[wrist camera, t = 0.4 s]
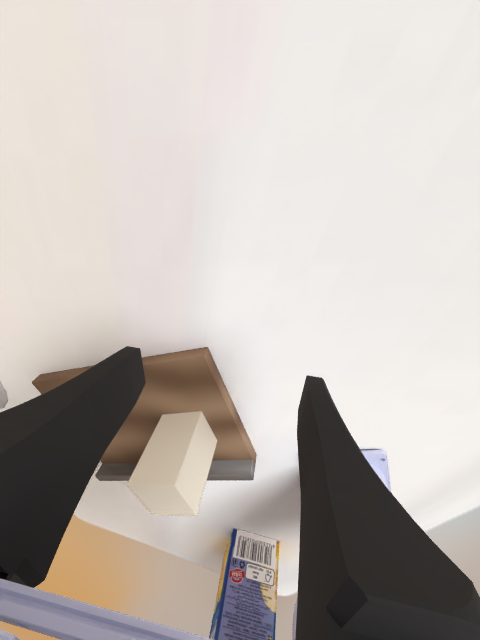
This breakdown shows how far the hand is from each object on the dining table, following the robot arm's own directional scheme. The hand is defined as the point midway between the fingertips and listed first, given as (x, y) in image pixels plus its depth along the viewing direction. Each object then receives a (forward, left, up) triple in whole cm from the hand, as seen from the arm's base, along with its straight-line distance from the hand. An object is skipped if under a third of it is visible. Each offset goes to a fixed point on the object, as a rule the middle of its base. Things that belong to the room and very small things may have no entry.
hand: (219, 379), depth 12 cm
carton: (-13, +10, -9) cm, 19 cm away
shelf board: (-12, +15, -10) cm, 22 cm away
